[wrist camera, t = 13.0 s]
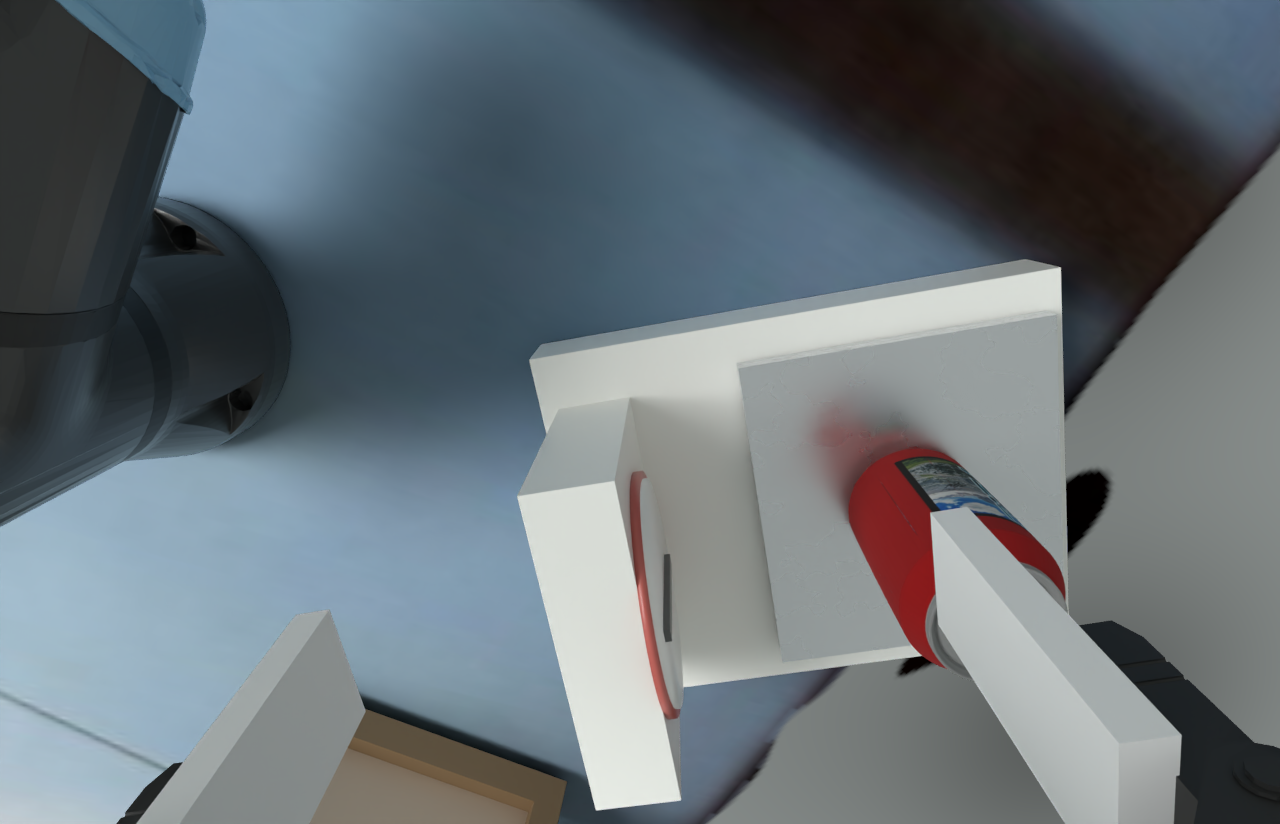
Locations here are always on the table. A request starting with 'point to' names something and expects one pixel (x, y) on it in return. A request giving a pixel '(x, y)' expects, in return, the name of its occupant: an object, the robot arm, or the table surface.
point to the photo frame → (432, 782)
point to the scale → (693, 505)
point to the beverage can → (902, 539)
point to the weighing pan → (880, 425)
